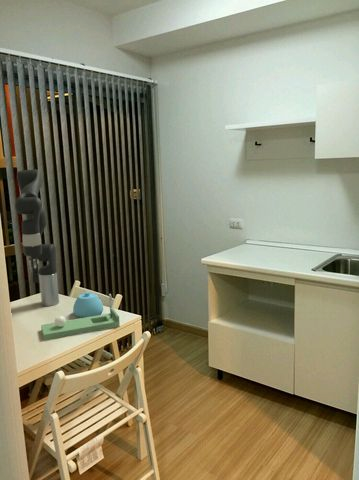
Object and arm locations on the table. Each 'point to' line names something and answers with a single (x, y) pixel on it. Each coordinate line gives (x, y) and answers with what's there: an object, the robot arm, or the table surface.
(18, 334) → the table surface
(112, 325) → the mini golf green
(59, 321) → the ball
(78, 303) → the sugar bowl
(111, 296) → the flag pin
